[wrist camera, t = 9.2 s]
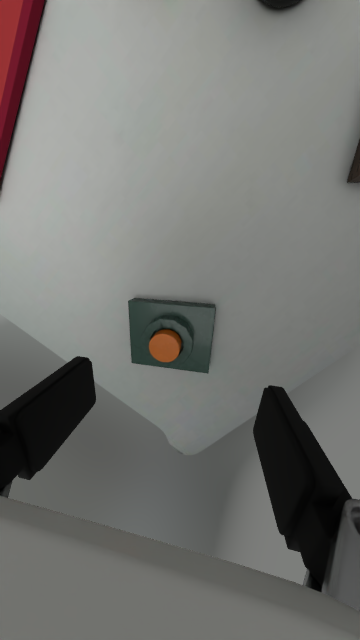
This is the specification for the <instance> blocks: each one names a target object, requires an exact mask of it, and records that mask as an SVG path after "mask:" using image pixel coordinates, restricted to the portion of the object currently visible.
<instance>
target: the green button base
mask: <svg viewBox="0 0 360 640" xmlns="http://www.w3.org/2000/svg"><path fill="white" fill-rule="evenodd" d="M128 304H129V322H130V340H131V358H132V363H136V364H143V365H151V366H158V367H165V368H173V369H180V370H187V371H195V372H202V373H208V372H209V363H210V354H211V346H212V337H213V328H214V319H215V310H216V307H215V304H205V303H192V302H179V301H167V300H154V299H141V298H134V299H132V300H129V301H128ZM162 329H169V330H172V331H174V332H176V333H177V334H178V335H179V337H180V339H181V342H182V345H181V349H180V352H179V355H178V356H177V358H176V359H175V360H173V361H171V362H161V361H158V360H157V359H155V358H154V357H153V356H152V355H151V353H150V350H149V342H150V340H151V339H152V337H153V336H154V335H155V334H156V333H157V332H158V331H159V330H162Z"/></svg>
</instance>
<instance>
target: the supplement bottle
mask: <svg viewBox="0 0 360 640" xmlns="http://www.w3.org/2000/svg"><path fill="white" fill-rule="evenodd" d="M263 1H264V2H265V3H267V4H268V5H270V6H273V7H287V6H290V5H292V4H294V3H296V2H298V1H299V0H263Z"/></svg>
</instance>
